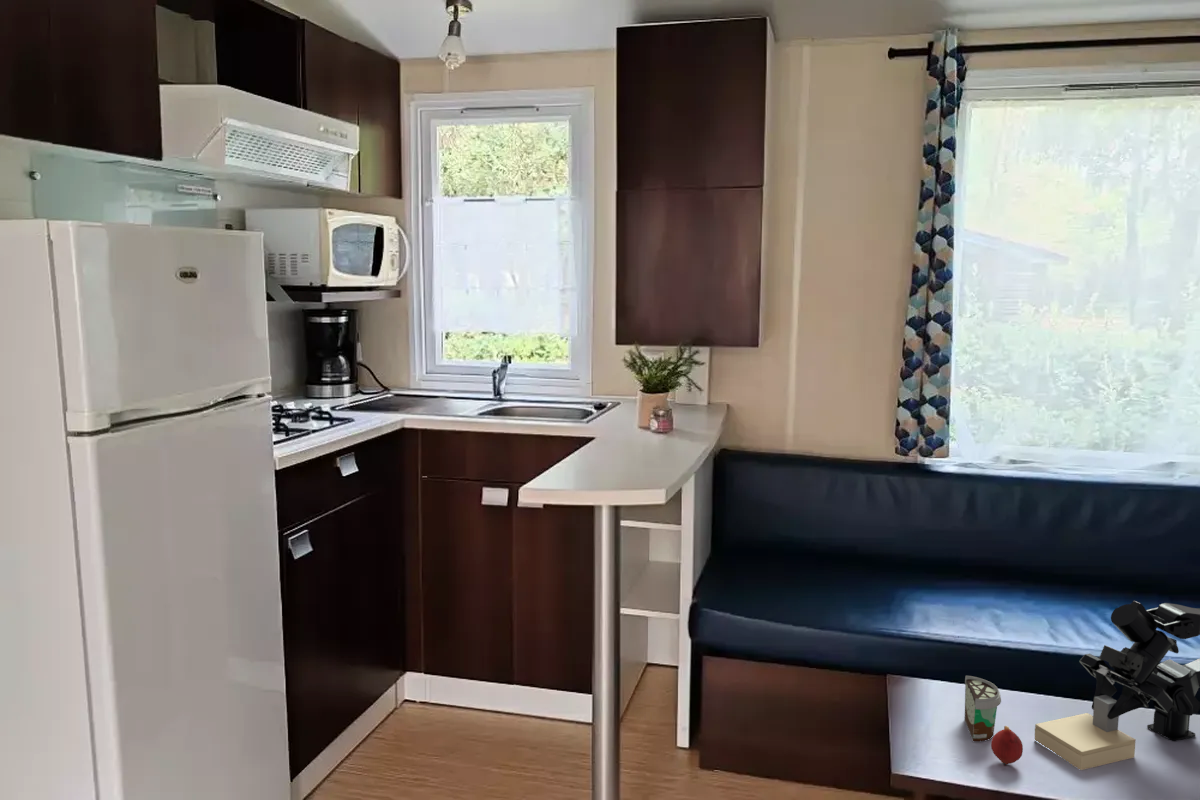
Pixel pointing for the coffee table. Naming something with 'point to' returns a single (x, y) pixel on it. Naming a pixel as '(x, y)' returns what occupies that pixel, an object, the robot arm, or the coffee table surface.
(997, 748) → the onion
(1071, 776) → the coffee table surface
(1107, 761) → the carton
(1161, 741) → the coffee table surface
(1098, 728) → the carton flap
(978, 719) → the food container
